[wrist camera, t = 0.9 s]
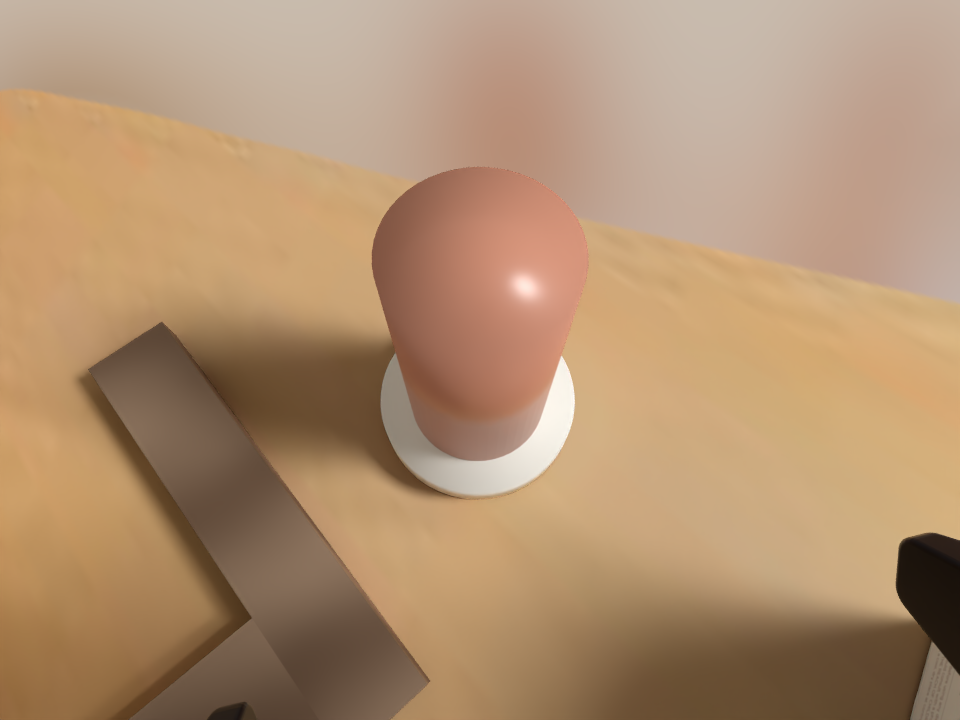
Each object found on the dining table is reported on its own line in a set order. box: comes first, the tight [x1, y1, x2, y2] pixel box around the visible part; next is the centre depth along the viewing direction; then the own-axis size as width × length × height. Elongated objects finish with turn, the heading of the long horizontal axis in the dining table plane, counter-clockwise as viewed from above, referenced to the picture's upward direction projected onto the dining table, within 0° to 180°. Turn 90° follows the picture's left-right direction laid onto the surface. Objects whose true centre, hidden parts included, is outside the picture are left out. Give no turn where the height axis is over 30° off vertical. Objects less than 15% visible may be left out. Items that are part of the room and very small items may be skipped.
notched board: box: [88, 322, 430, 720], centre depth 19 cm, size 16×17×1 cm
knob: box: [372, 167, 588, 500], centre depth 18 cm, size 7×7×10 cm
